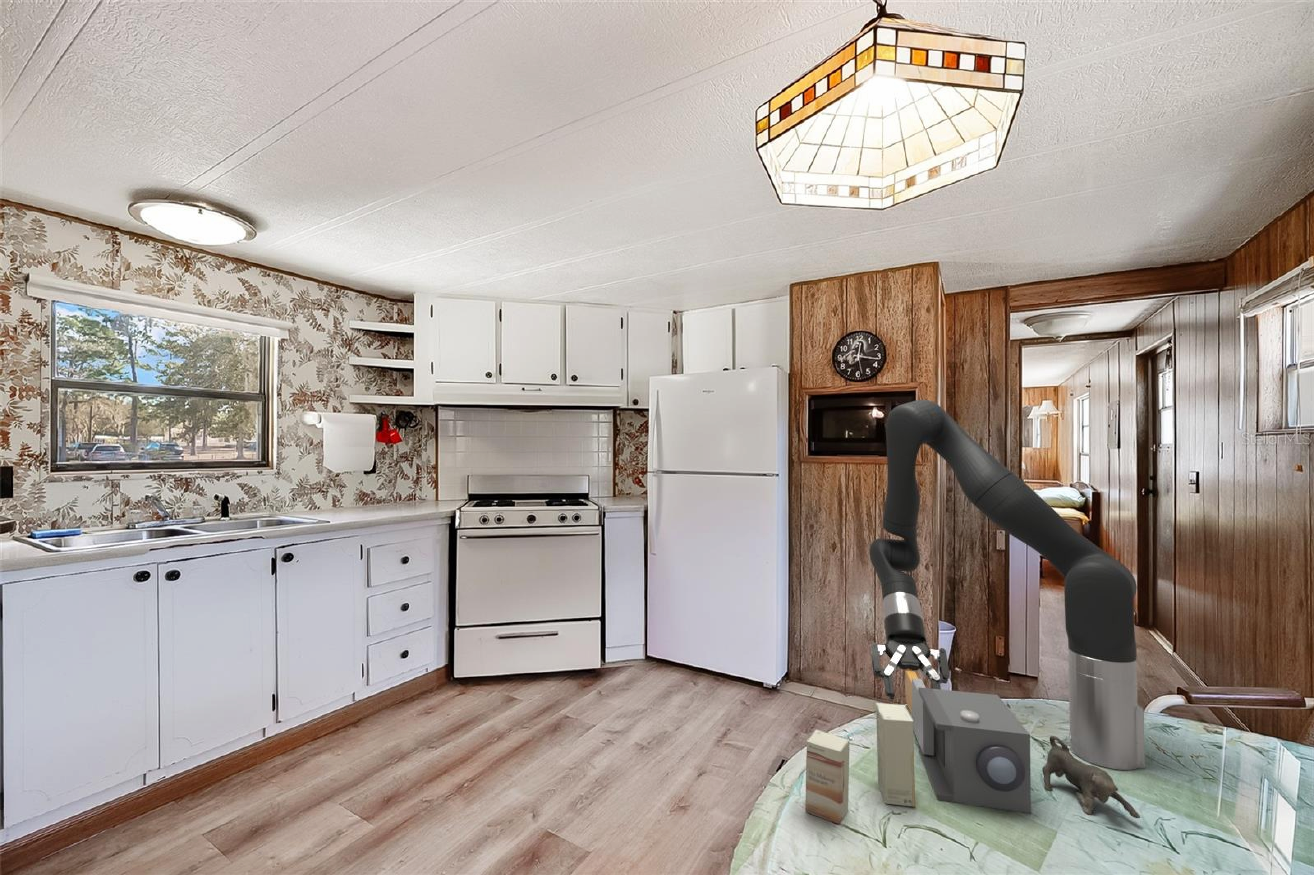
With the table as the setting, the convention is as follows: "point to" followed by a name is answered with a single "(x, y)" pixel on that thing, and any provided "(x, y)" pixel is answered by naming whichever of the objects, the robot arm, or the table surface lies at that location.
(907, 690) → the door
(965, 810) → the table surface
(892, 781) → the skincare box
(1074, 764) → the dog figurine
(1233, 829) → the table surface
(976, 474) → the robot arm
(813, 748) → the skincare box
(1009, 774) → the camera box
